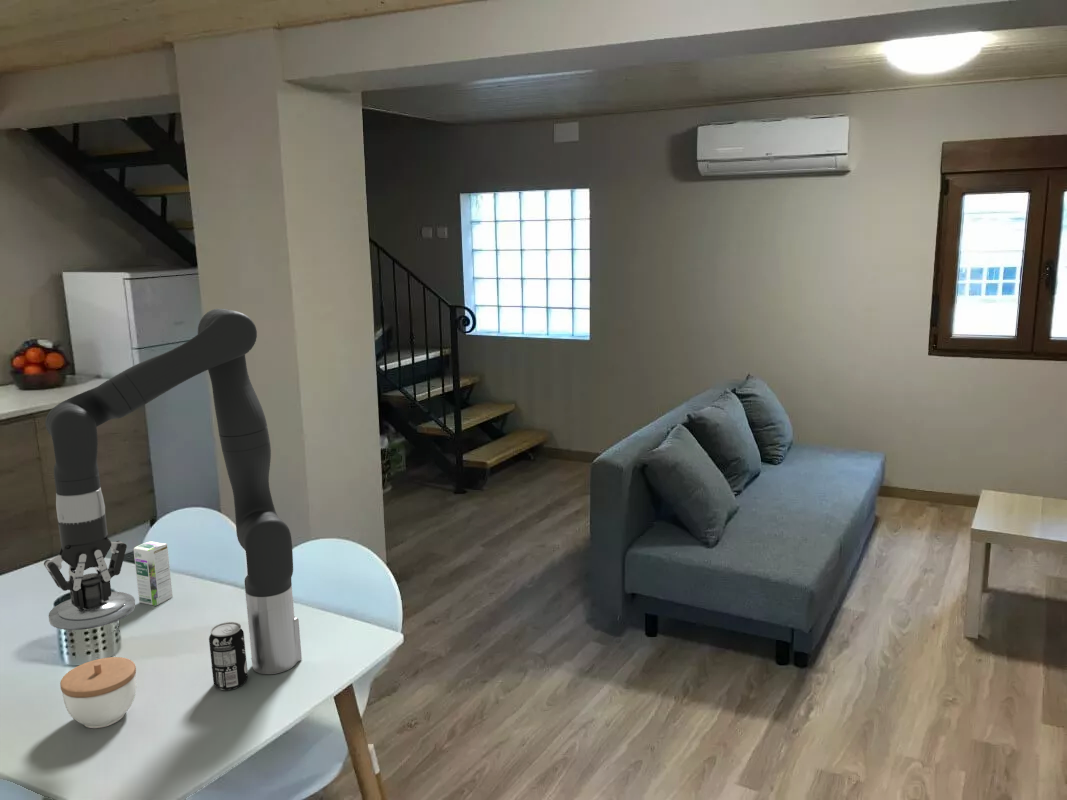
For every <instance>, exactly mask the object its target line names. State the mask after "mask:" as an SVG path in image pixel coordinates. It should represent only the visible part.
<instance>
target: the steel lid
mask: <svg viewBox="0 0 1067 800" xmlns="http://www.w3.org/2000/svg"><path fill="white" fill-rule="evenodd" d="M101 581H102V576H101V574H98V573H97V572H95V573H93V572H92V573H87V574H86V573H85V574H83V578H82V579H81V586H80V589H82V594H83V602H84V608H82V609H78V608H77V607H75V606H74V605H73V604H72V602H71V598H70V599H67V600H65V601H63V602H60V603H59V604H57V605H56V606H54V607H53V608H52V609H50V611H49V612H48V622H49V624H50V626H52V627H54V628H56V629H59V630H66V631H79V630H89V629H95V628H100V627H104V626H107V625H110V624H112V623H116V622H118V621H120V620H122V619H124V618H126V617H127V616H129V615H130V614H131V613H132V612H133V611H134V610H135V608H136V599H135V597H134V596H133V595H131V594H129V593H127V592H121V591H111V596H110V597H109V600H107V601H103V600H102V597H101V587H100V582H101Z"/></svg>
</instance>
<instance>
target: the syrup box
mask: <svg viewBox="0 0 1067 800" xmlns="http://www.w3.org/2000/svg"><path fill="white" fill-rule="evenodd" d="M133 556H134V565H135V575H136V583H137V593H138V603H140V604H146V605H151V606H154V607H156V606H158V605H160V604H162V603H164V602H166V601H168V600H170V599H172V598H173V588H172V586H173V585H172V578H171V569H170V557H169V547H168V543H163V542H157V541H153V540H151V541H147V542H146V541H145V542H144V543H141V544H139V545H137V546H135V547H133Z"/></svg>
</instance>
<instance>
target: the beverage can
mask: <svg viewBox="0 0 1067 800" xmlns="http://www.w3.org/2000/svg"><path fill="white" fill-rule="evenodd" d="M208 642H209V651H210V652H209V653H210V660H211V671H212V680H213V685H214V686H215V687H216V688H218V689H219V690H221V691H232V690H234V689H238V688H241V687H242V686H243V685H244V684H245V683H246V681H247V680H248V679H249V677H248V676H249V675H248V663H247V653H246V644H245V643H246V642H245V632H244V630H243V629H242V625H241V624H240V623H238V622H234V621H227V622H221V623H219V624H216V625H215V626H213V627H211V629H210V635H209V637H208Z"/></svg>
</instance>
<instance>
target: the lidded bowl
mask: <svg viewBox="0 0 1067 800" xmlns="http://www.w3.org/2000/svg"><path fill="white" fill-rule="evenodd" d="M136 673H137V666H136V664H135V662H134V661H133V660H132V659H129V658H127V657H120V656H114V657H111V656H109V657H104V658H103V657H102V658H97V659H94V660H90V661H87V662H84V663H82V664H80V665H77V666H76V667H73V668H72V669H70V670H69V671H68V672H67V673H65V674H64V676H62V678H61V680H60V681H59V682H60V683H59V684H60V685H59V686H60V690H61V693H62V701H63V703H64V705H65V708H66V711H67V712H68V714H69V715H70V717H71V718H72V719H73V720H74V721H76V722H78V723H79V724H81V725H83V726H84V727H85V728H88V729H100V728H106V727H108V726H112V725H113V724H116V723H117V722H119V721H121V720H122V719H123V718H124V717H125V714H126V713H127V711H128V710H129V709H130V708H131V706H132V704H133V703H134V700H135V697H136V692H137V674H136Z"/></svg>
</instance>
